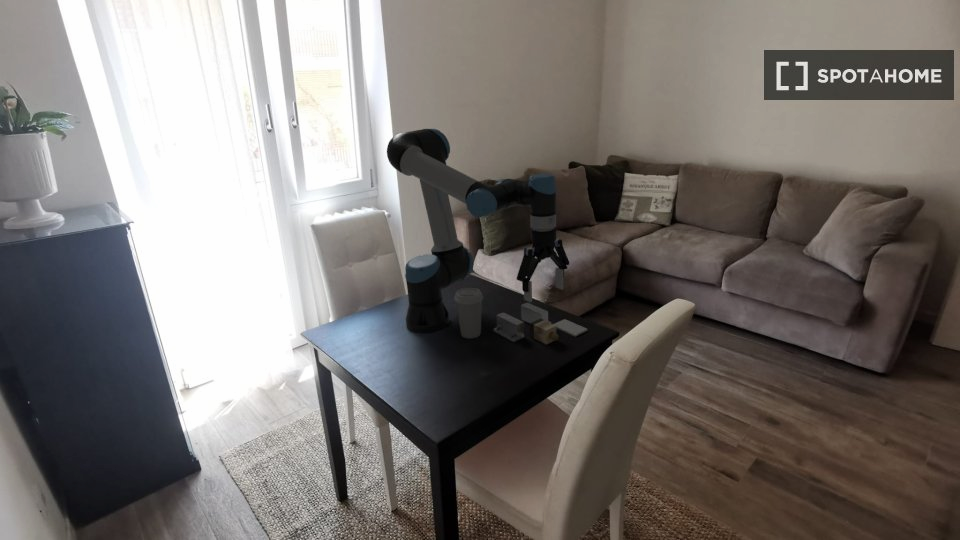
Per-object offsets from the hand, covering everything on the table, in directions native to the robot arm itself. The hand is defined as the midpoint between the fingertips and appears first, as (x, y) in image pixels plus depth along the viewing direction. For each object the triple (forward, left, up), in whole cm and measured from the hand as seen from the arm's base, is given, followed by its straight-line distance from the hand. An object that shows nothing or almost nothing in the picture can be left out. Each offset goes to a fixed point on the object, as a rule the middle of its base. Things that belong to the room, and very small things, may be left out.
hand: (544, 294), depth 151 cm
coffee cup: (-19, -15, -16) cm, 29 cm away
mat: (+1, +11, -16) cm, 19 cm away
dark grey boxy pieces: (-10, 0, -16) cm, 19 cm away
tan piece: (-1, 0, -16) cm, 16 cm away
